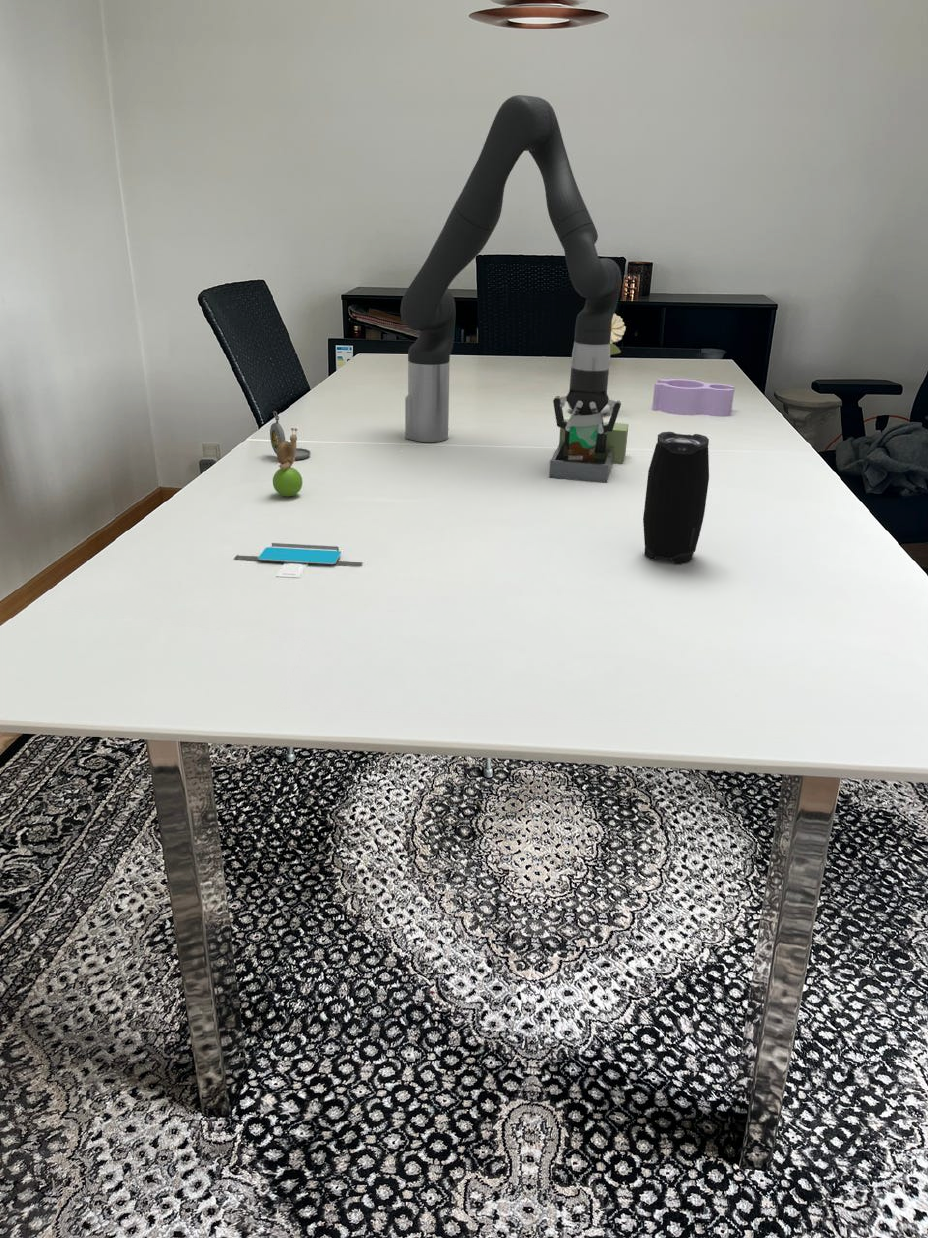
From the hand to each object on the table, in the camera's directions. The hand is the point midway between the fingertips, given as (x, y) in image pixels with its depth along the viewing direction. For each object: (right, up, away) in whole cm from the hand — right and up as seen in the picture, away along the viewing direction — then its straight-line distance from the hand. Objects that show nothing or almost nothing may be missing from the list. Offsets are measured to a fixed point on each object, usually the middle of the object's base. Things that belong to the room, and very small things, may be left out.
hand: (583, 448), depth 198 cm
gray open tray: (0, -4, +2) cm, 4 cm away
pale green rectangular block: (+3, 0, +11) cm, 11 cm away
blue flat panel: (-51, -27, -49) cm, 75 cm away
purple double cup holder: (+35, +19, +55) cm, 68 cm away
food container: (0, -2, +1) cm, 2 cm away
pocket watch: (-62, -1, +4) cm, 62 cm away
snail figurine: (-57, -12, -19) cm, 61 cm away
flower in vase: (+9, +18, +49) cm, 53 cm away
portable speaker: (+8, -25, -43) cm, 50 cm away
